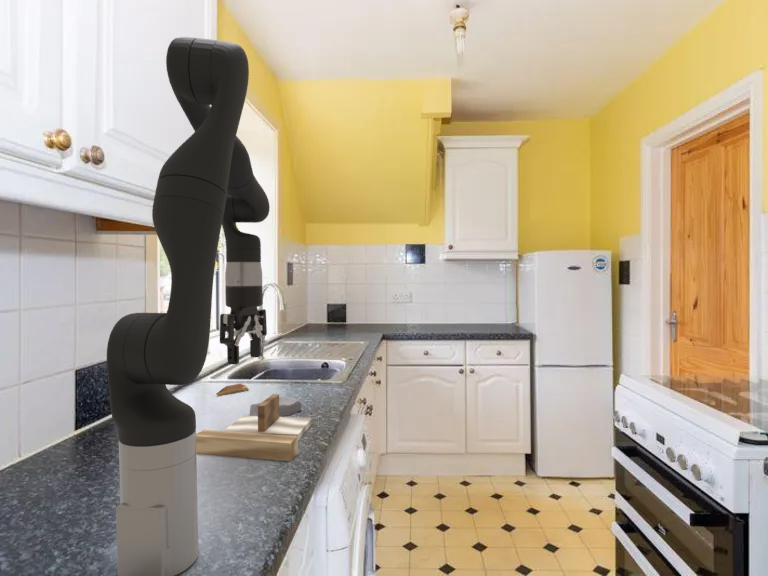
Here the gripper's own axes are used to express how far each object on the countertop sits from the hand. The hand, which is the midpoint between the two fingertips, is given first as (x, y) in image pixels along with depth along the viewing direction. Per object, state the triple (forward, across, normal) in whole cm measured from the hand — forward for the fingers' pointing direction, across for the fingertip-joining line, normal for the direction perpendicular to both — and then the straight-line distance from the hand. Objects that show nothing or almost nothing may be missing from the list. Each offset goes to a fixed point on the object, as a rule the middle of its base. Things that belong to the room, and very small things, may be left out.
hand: (245, 360), depth 101 cm
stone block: (+20, +26, +8) cm, 34 cm away
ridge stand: (+20, +13, +2) cm, 24 cm away
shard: (+20, +43, +31) cm, 57 cm away
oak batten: (+20, -1, 0) cm, 20 cm away
